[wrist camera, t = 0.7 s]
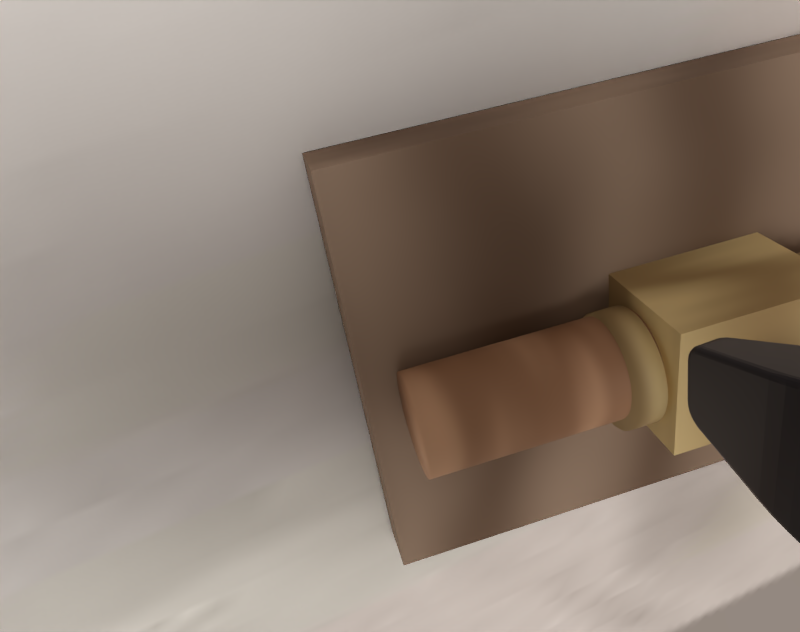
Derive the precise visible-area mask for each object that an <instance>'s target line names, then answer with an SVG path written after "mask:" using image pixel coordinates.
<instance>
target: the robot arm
mask: <svg viewBox="0 0 800 632" xmlns="http://www.w3.org/2000/svg"><path fill="white" fill-rule="evenodd" d="M688 408H689V412H690V414H691V417H692V419H693V421H694V422H695V424H696V426H697V427H698V428H699V429H700V431H701V432H702V433H703V434H704V435H705V437H706V438H707V439H708V440H709V441H710V443H711V444H712V445H713V446H714V447H715V449H716V450H717V451H718V452H719V453H720V455H721V456H722V457H723V458H724V459H725V461H726V462H727V463H728V464H729V465H730V467H731V468H732V469H733V470H734V471H735V473H736V474H737V475H738V476H739V477H740V479H741V480H742V481H743V482H744V483H745V485H746V486H747V487H748V488H749V489H750V491H751V492H752V493H753V494H754V495H755V497H756V498H757V499H758V500H759V501H760V502H761V504H762V505H763V506H764V507H765V508H766V509H767V510H768V511H769V513H770V514H771V515H772V516H773V517H774V518H775V519H776V520H777V521H778V522H779V523H780V524H781V525H782V526H783V527H784V528H785V529H786V530H787V531H788V532H789V533H790V534H791V535H792V536H793V537H794V538H795V539H796V540H797V541H798V542H799V543H800V345H792V344H783V343H774V342H765V341H756V340H747V339H738V338H729V337H724V338H717V339H715V340H712V341H709V342H706V343H703V344H701V345H698V346H695V347H694V348H693V349H692V350H691V351H690V353H689V356H688Z"/></svg>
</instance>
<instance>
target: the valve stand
mask: <svg viewBox="0 0 800 632" xmlns="http://www.w3.org/2000/svg"><path fill="white" fill-rule="evenodd" d="M302 155H303V159H304V163H305V167H306V171H307V175H308V180H309V184H310V188H311V192H312V196H313V200H314V205H315V209H316V213H317V217H318V221H319V226H320V230H321V234H322V238H323V242H324V246H325V251H326V255H327V259H328V263H329V267H330V271H331V276H332V280H333V284H334V288H335V292H336V297H337V301H338V305H339V309H340V313H341V317H342V322H343V326H344V330H345V334H346V338H347V342H348V347H349V351H350V355H351V359H352V363H353V367H354V372H355V376H356V380H357V384H358V388H359V393H360V397H361V401H362V405H363V409H364V413H365V418H366V422H367V426H368V430H369V434H370V438H371V443H372V447H373V451H374V455H375V459H376V463H377V468H378V472H379V476H380V480H381V484H382V489H383V493H384V497H385V501H386V505H387V509H388V514H389V518H390V522H391V526H392V530H393V534H394V537H395V540H396V543H397V546H398V549H399V552H400V555H401V558H402V561H403V564H404V565H406V564H409V563H412V562H415V561H418V560H421V559H424V558H427V557H430V556H434V555H437V554H440V553H443V552H446V551H449V550H452V549H455V548H458V547H461V546H464V545H467V544H470V543H473V542H476V541H479V540H482V539H485V538H488V537H491V536H494V535H497V534H500V533H503V532H507V531H510V530H513V529H516V528H519V527H522V526H525V525H528V524H531V523H534V522H537V521H540V520H543V519H546V518H549V517H552V516H555V515H558V514H561V513H564V512H567V511H570V510H573V509H577V508H580V507H583V506H586V505H589V504H592V503H595V502H598V501H601V500H604V499H607V498H610V497H613V496H616V495H619V494H622V493H625V492H628V491H631V490H634V489H637V488H640V487H643V486H646V485H650V484H653V483H656V482H659V481H662V480H665V479H668V478H671V477H674V476H677V475H680V474H683V473H686V472H689V471H692V470H695V469H698V468H701V467H704V466H707V465H710V464H713V463H716V462H719V461H723V460H725V459H724V458H723V457H722V456H721V455H720V453H719V452H718V451H717V450H716V449H715V447H714V446H713V445H712V444H711V443H710V441H709V440H708V439H707V438H706V437H705V435H704V434H703V433H702V432H701V431H700V429H699V428H698V427H697V426H696V424H695V422H694V421H693V419H692V417H691V414H690V412H689V408H688V356H689V353H690V351H691V350H692V349H693V348H694V347H695V346H698V345H701V344H703V343H706V342H709V341H712V340H715V339H717V338H724V337H729V338H738V339H747V340H756V341H765V342H774V343H783V344H792V345H800V34H799V35H795V36H790V37H786V38H782V39H778V40H774V41H770V42H765V43H761V44H757V45H753V46H749V47H744V48H740V49H736V50H732V51H728V52H724V53H719V54H715V55H711V56H707V57H703V58H698V59H694V60H690V61H686V62H682V63H678V64H673V65H669V66H665V67H661V68H657V69H652V70H648V71H644V72H640V73H636V74H632V75H627V76H623V77H619V78H615V79H611V80H606V81H602V82H598V83H594V84H590V85H586V86H581V87H577V88H573V89H569V90H565V91H560V92H556V93H552V94H548V95H544V96H540V97H535V98H531V99H527V100H523V101H519V102H514V103H510V104H506V105H502V106H498V107H494V108H489V109H485V110H481V111H477V112H473V113H468V114H464V115H460V116H456V117H452V118H448V119H443V120H439V121H435V122H431V123H427V124H422V125H418V126H414V127H410V128H406V129H402V130H397V131H393V132H389V133H385V134H381V135H376V136H372V137H368V138H364V139H360V140H356V141H351V142H347V143H343V144H339V145H335V146H331V147H326V148H322V149H318V150H314V151H310V152H305V153H302Z"/></svg>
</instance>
